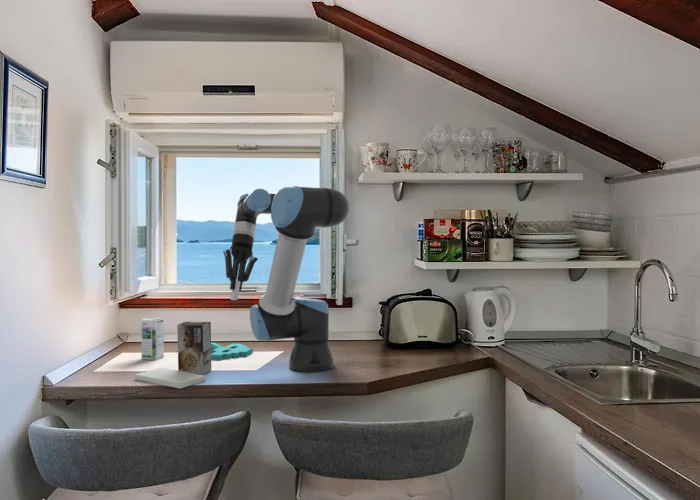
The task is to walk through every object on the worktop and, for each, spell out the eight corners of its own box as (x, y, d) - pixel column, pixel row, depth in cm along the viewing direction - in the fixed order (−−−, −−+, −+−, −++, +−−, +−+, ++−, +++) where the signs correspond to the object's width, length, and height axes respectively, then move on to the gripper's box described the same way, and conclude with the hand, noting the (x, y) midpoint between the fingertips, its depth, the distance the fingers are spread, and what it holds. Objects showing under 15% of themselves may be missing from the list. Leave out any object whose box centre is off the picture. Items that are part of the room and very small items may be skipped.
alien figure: (187, 359, 196) (238, 362, 192) (186, 353, 196) (238, 355, 192) (211, 348, 215) (259, 350, 211) (211, 342, 215) (259, 344, 211)
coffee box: (212, 369, 179) (211, 321, 178) (203, 374, 173) (203, 324, 172) (186, 368, 180) (186, 320, 180) (177, 373, 174) (176, 324, 174)
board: (205, 380, 166) (205, 375, 166) (180, 388, 157) (179, 383, 157) (161, 372, 176) (161, 367, 176) (135, 379, 167) (135, 374, 167)
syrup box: (140, 359, 194) (140, 319, 194) (151, 355, 200) (150, 317, 199) (154, 360, 192) (154, 320, 192) (164, 356, 198) (164, 317, 198)
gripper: (254, 242, 202) (245, 304, 195) (222, 233, 194) (212, 296, 187) (264, 238, 197) (255, 301, 189) (232, 228, 189) (222, 294, 182)
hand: (234, 299), depth 188 cm, fingers closed
